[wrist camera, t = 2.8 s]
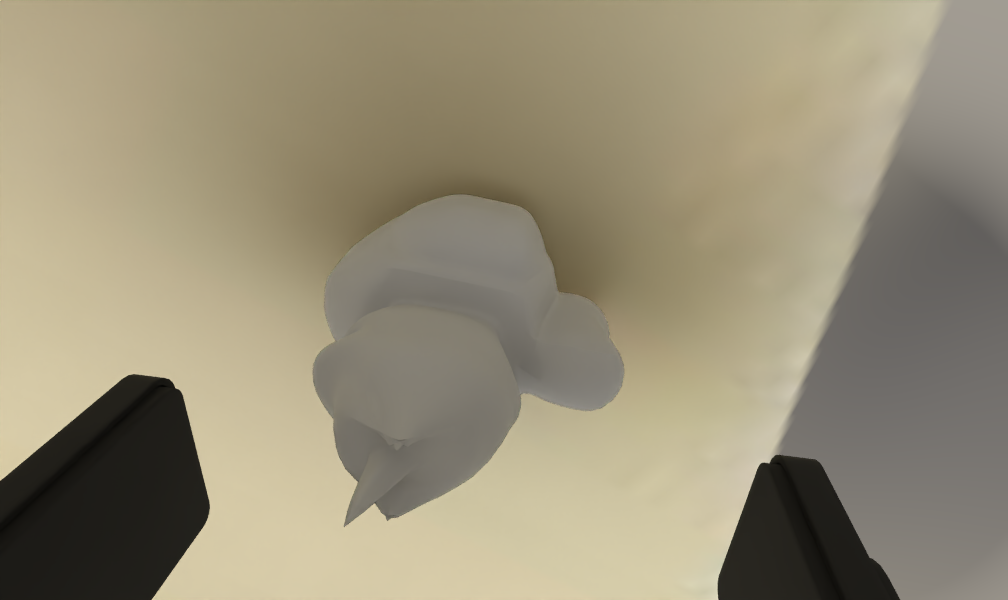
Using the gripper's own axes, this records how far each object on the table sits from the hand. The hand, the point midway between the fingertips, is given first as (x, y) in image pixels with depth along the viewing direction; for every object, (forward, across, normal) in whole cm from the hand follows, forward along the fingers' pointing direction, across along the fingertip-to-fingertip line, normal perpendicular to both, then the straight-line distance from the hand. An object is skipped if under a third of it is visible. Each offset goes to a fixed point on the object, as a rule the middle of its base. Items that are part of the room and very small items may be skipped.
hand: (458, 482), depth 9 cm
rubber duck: (+6, 0, -1) cm, 7 cm away
